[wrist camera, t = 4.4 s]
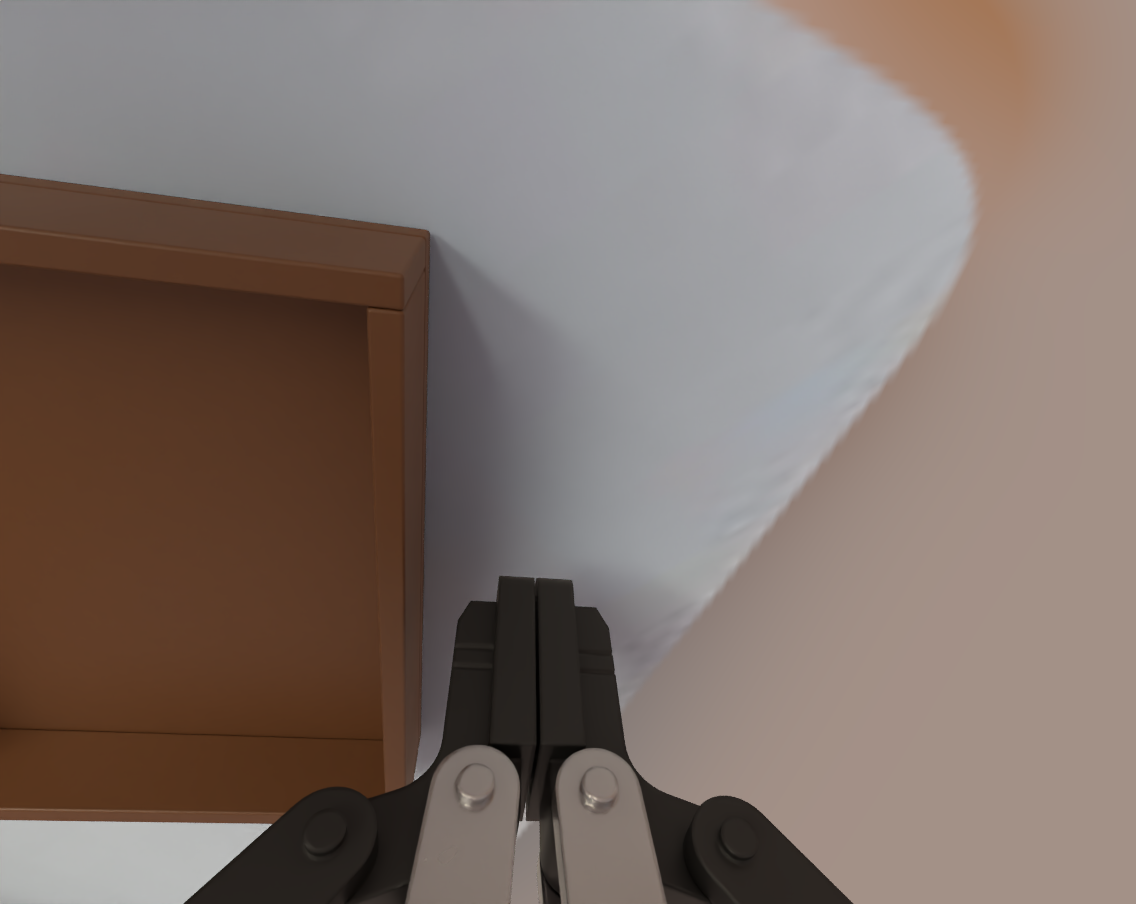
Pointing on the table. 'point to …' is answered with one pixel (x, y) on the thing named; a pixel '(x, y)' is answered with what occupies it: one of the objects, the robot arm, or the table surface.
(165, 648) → the tray
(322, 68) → the table surface
